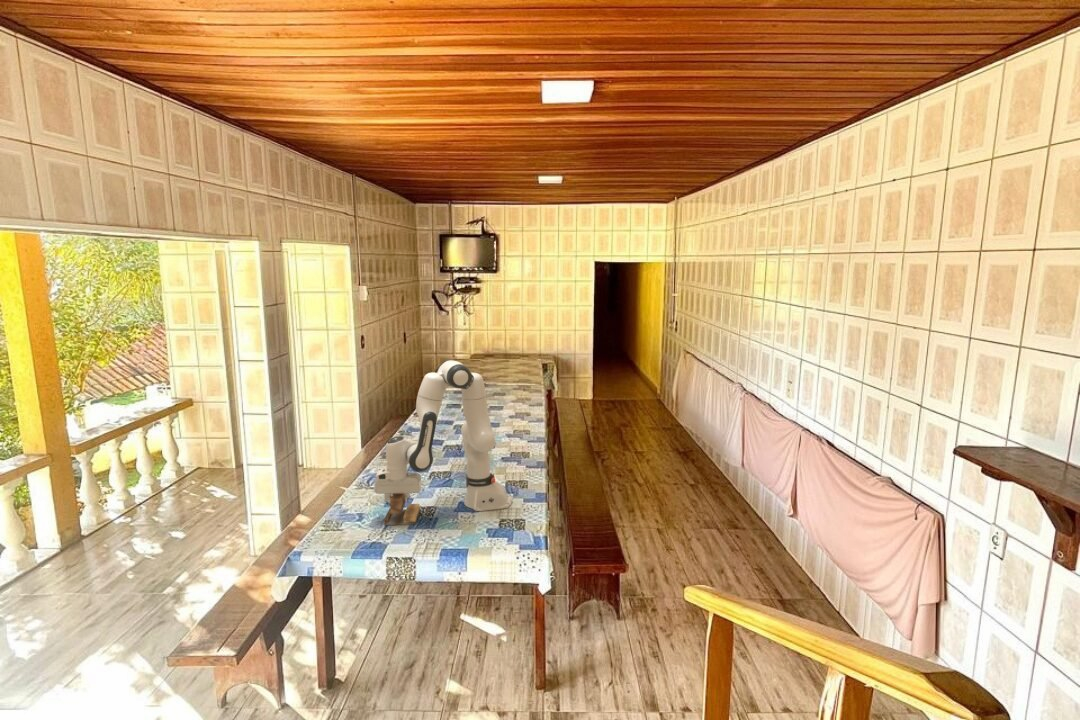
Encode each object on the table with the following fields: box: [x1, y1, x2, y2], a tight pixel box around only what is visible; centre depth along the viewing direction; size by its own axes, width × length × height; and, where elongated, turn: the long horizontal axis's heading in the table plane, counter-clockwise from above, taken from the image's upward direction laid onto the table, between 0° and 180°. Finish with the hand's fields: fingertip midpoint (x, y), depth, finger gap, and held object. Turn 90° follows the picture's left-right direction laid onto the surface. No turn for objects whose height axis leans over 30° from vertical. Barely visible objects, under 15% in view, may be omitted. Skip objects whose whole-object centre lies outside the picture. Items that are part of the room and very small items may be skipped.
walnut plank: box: [389, 493, 407, 514], centre depth 249 cm, size 4×12×6 cm, turn 3°
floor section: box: [383, 503, 421, 527], centre depth 250 cm, size 14×13×4 cm
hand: (398, 501), depth 249 cm, fingers closed on walnut plank, 4 cm apart
